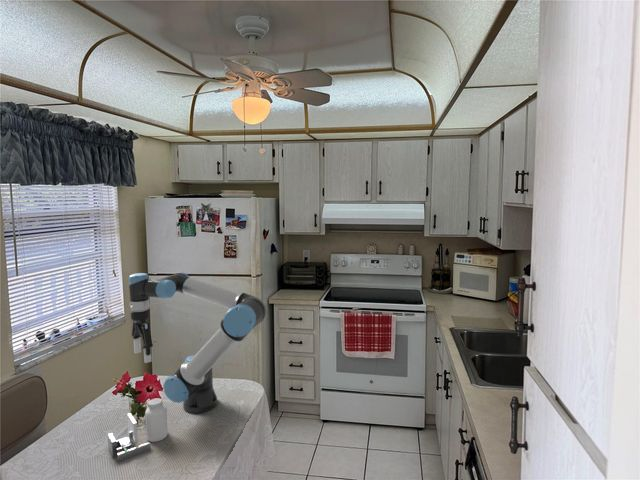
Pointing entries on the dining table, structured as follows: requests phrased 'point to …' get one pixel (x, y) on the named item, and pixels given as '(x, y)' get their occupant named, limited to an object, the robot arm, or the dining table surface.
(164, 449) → the dining table surface
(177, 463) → the dining table surface
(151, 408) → the pill bottle
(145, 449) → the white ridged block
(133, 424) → the white l-shaped bracket
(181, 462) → the dining table surface
